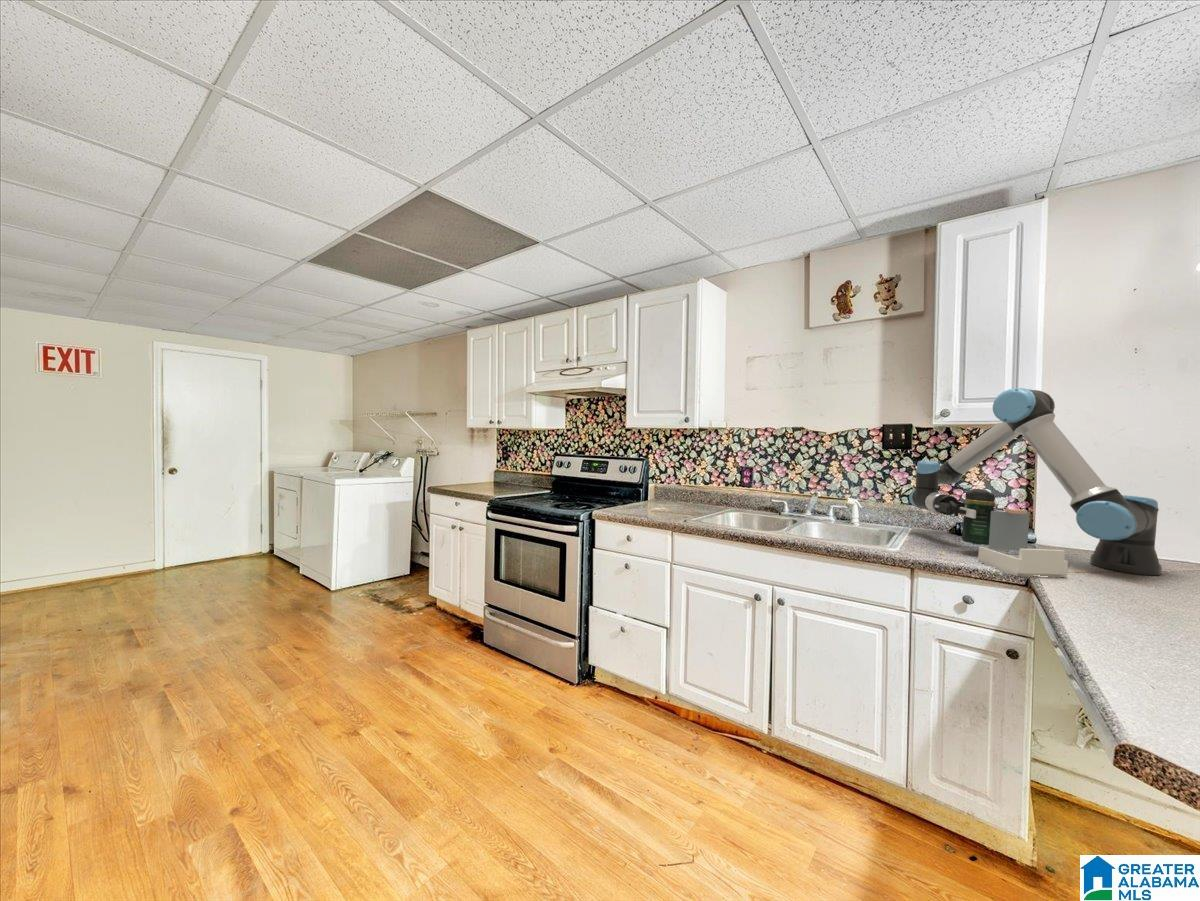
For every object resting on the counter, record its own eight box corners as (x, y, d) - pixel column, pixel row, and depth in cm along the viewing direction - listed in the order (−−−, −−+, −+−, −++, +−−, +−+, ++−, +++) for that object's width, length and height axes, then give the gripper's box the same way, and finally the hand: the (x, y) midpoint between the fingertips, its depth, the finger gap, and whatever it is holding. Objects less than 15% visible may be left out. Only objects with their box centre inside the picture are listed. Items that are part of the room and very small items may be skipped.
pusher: (1024, 549, 150) (1027, 508, 149) (1035, 552, 146) (1038, 511, 145) (988, 548, 150) (991, 507, 150) (998, 551, 146) (1001, 510, 146)
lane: (1022, 563, 152) (1024, 538, 152) (1066, 578, 137) (1068, 550, 137) (978, 561, 153) (979, 537, 152) (1017, 576, 138) (1019, 549, 137)
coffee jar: (992, 547, 157) (996, 491, 156) (962, 543, 161) (966, 489, 160) (989, 542, 164) (993, 489, 163) (961, 538, 169) (965, 486, 168)
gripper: (970, 514, 180) (1021, 527, 157) (913, 512, 181) (955, 524, 158) (971, 495, 180) (1022, 504, 157) (914, 493, 180) (956, 502, 158)
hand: (988, 514), depth 158 cm, fingers closed on coffee jar, 8 cm apart
